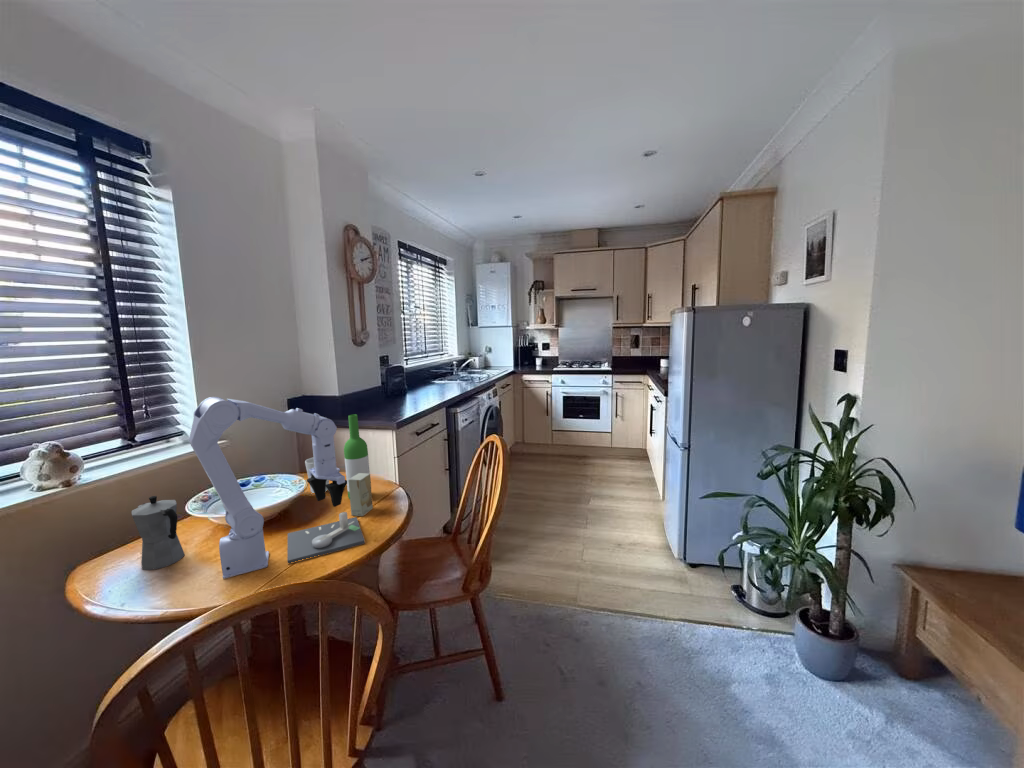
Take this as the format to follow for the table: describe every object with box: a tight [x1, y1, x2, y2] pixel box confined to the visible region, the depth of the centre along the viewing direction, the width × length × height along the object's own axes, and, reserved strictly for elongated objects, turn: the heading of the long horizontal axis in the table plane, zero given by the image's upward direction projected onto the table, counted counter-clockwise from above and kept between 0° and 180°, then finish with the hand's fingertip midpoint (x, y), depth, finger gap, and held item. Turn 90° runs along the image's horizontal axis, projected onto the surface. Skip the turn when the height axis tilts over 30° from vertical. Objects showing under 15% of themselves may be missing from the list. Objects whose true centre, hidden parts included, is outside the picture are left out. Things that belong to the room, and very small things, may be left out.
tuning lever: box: [312, 511, 354, 548], centre depth 115 cm, size 14×5×5 cm, turn 153°
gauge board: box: [286, 516, 366, 564], centre depth 115 cm, size 19×16×1 cm
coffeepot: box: [131, 495, 185, 571], centre depth 106 cm, size 15×9×18 cm, turn 67°
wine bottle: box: [343, 413, 371, 500], centre depth 141 cm, size 8×8×30 cm
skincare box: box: [349, 473, 374, 517], centre depth 132 cm, size 6×4×12 cm
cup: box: [304, 456, 330, 494], centre depth 150 cm, size 8×8×12 cm
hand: (329, 502), depth 119 cm, fingers open, 7 cm apart
